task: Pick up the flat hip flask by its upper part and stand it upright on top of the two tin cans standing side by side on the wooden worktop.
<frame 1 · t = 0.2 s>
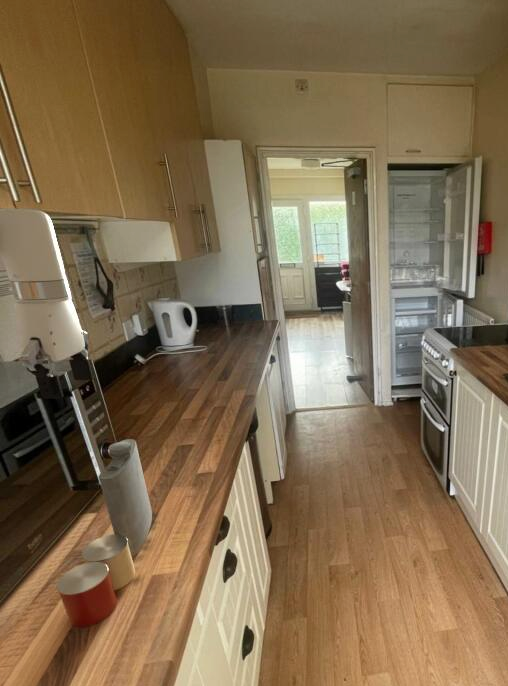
hand: (69, 388, 78), 31 cm above the table, tool pointing down, fingers open, 9 cm apart
can cream: (114, 578, 76), on the table
can red: (93, 610, 70), on the table
hip flask: (139, 532, 88), on the table
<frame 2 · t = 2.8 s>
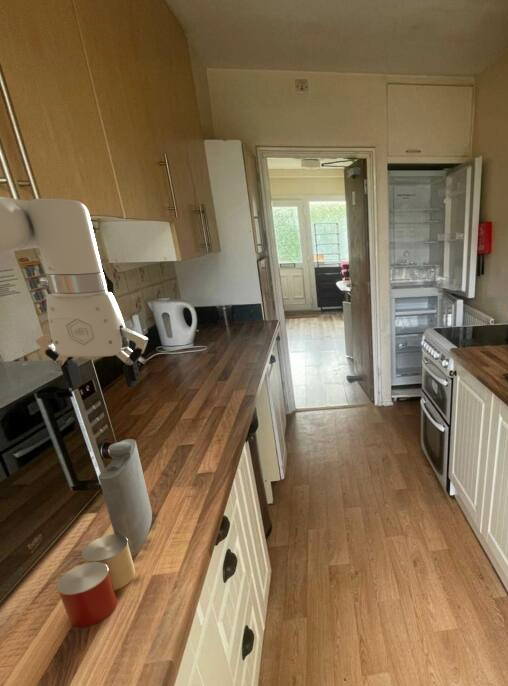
hand: (104, 385, 75), 32 cm above the table, tool pointing down, fingers open, 9 cm apart
nothing on the table moved.
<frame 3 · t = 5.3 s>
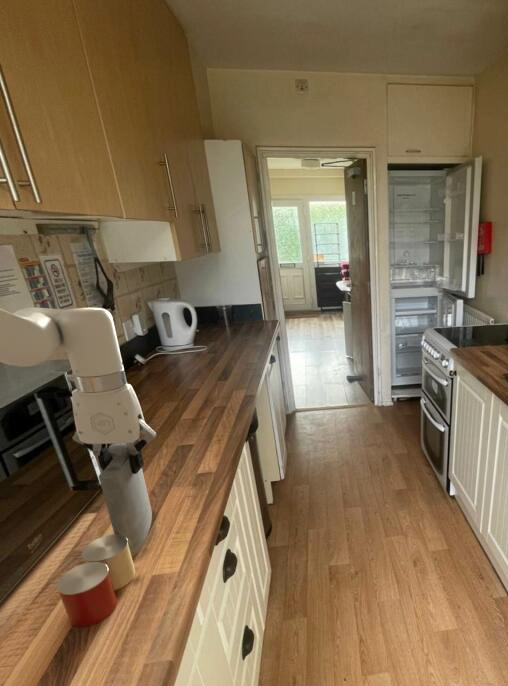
hand: (123, 469, 82), 15 cm above the table, tool pointing down, fingers closed on hip flask, 4 cm apart
hip flask: (139, 532, 88), on the table, touching gripper
everything else where it was.
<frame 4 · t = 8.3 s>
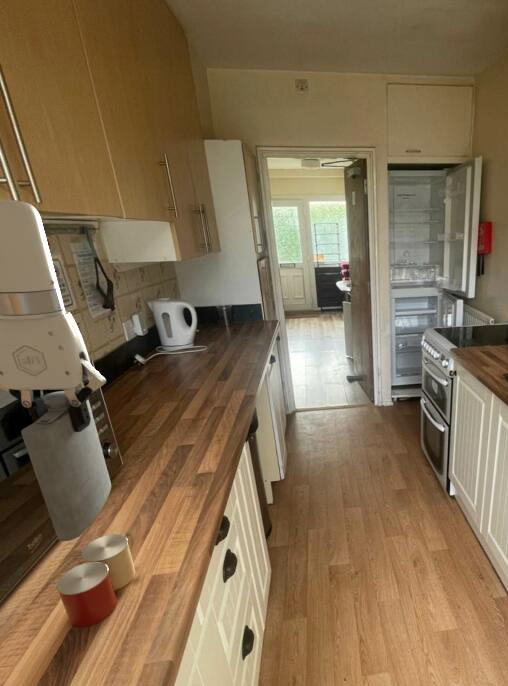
hand: (64, 427, 64), 30 cm above the table, tool pointing down, fingers closed on hip flask, 4 cm apart
hip flask: (90, 509, 70), point 15 cm above the table, touching gripper
everything else where it was.
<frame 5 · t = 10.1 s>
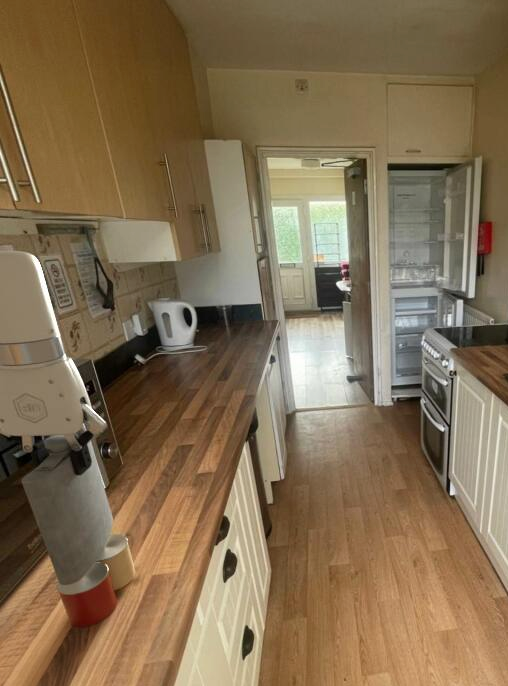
hand: (65, 470, 63), 24 cm above the table, tool pointing down, fingers closed on hip flask, 4 cm apart
hip flask: (92, 548, 69), point 9 cm above the table, touching gripper
everything else where it was.
when the fingers open (22 cm above the table, at t = 11.3 s): hip flask stays where it is, resting on can cream, can red.
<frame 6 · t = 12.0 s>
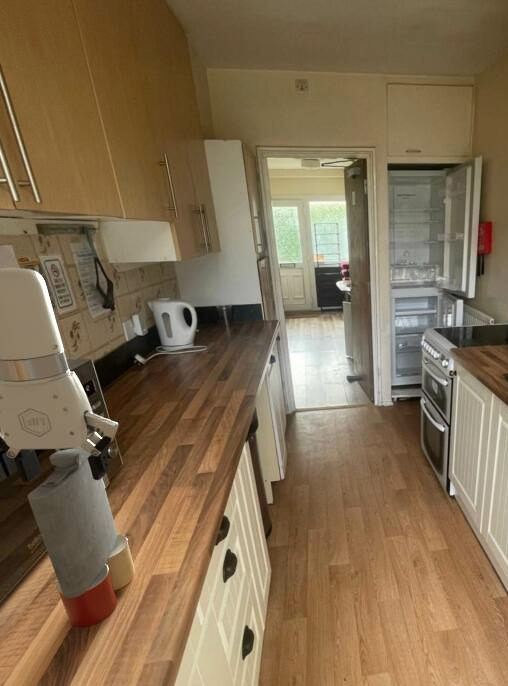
hand: (67, 476, 64), 23 cm above the table, tool pointing down, fingers open, 9 cm apart
can cream: (114, 578, 76), on the table, touching hip flask
can red: (93, 610, 70), on the table, touching hip flask
hip flask: (96, 561, 70), point 7 cm above the table, touching can cream, can red
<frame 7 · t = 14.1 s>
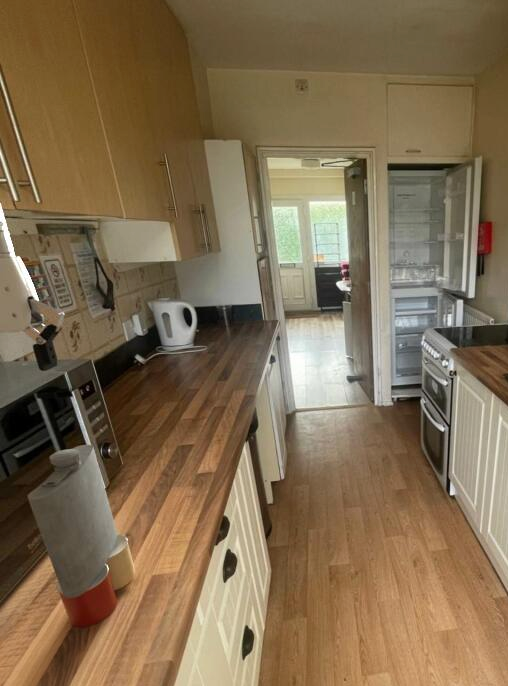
hand: (14, 367, 64), 38 cm above the table, tool pointing down, fingers open, 9 cm apart
nothing on the table moved.
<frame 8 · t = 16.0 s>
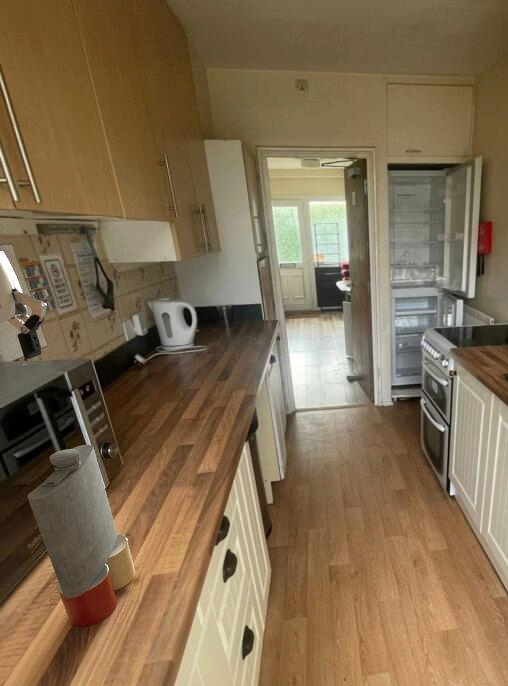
hand: (0, 356, 68), 38 cm above the table, tool pointing down, fingers open, 9 cm apart
nothing on the table moved.
at the end: hip flask 0.2 cm from the target spot, point 6.8 cm above the table; hip flask tilted 0°; the gripper is holding nothing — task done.
